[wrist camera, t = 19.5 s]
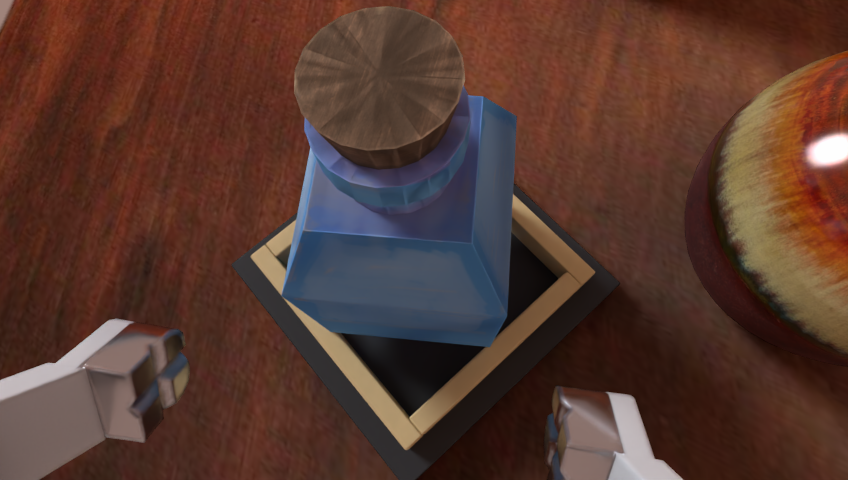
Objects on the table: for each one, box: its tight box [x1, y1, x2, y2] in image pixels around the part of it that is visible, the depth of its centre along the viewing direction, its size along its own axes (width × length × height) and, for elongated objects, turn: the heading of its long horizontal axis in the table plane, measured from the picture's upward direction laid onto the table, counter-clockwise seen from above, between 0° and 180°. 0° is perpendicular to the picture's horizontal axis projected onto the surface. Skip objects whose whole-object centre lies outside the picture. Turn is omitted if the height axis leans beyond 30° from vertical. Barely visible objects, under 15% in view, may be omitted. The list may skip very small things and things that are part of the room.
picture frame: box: [232, 183, 620, 480], centre depth 22 cm, size 12×12×2 cm
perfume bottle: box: [281, 6, 517, 347], centre depth 15 cm, size 6×6×12 cm
